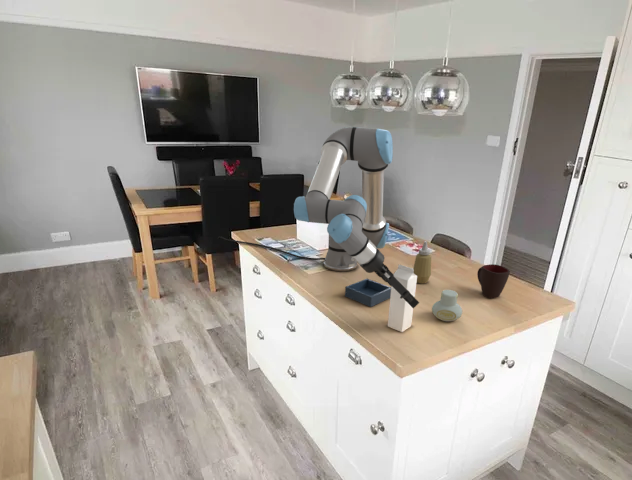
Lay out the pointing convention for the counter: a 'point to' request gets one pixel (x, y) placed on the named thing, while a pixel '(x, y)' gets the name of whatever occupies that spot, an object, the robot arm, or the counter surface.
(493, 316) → the counter surface
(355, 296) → the blue square tray
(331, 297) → the counter surface
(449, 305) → the air freshener
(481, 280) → the cup
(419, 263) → the squeeze bottle
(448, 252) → the counter surface
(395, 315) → the milk
